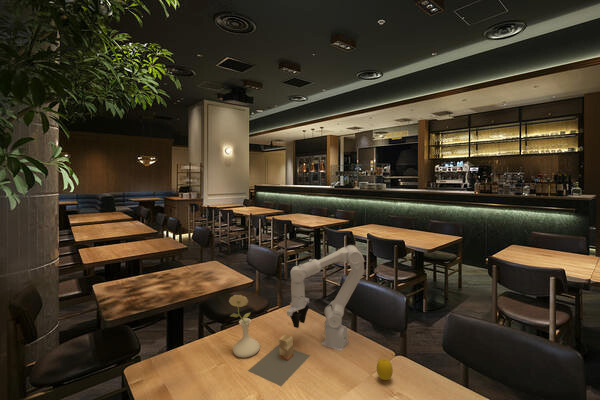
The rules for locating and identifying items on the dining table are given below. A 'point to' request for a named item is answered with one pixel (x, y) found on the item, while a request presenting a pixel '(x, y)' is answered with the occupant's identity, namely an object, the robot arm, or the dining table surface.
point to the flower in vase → (246, 344)
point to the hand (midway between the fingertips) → (299, 324)
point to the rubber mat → (278, 366)
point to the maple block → (286, 347)
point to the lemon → (384, 369)
